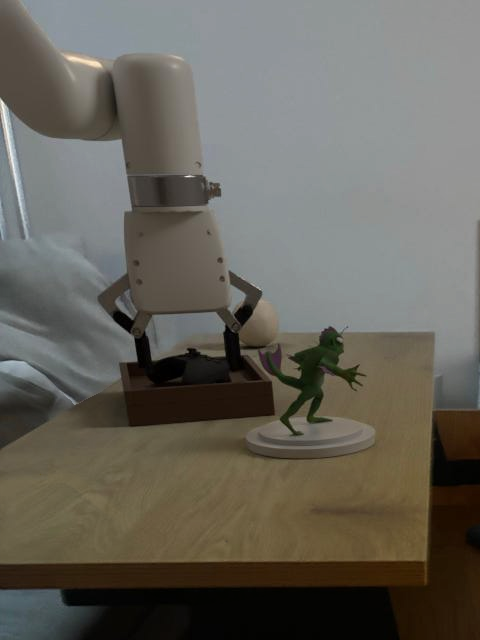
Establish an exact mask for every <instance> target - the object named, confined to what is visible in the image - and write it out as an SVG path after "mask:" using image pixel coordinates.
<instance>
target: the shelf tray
mask: <svg viewBox="0 0 480 640" xmlns="http://www.w3.org/2000/svg"><path fill="white" fill-rule="evenodd" d="M214 357H215V358H222V359H225V360H226V355H220V356H219V355H218V356H214ZM158 360H159V359H155V360H153V359H152V364H153V363H154V362H156V361H158ZM118 365H119V372H120V378H121V384H122V390H123V397H124V402H125V409H126V415H127V420H128V426H129V427H139V426H152V425H153V426H154V425H165V424H166V425H167V424H176V423H178V424H179V423H189V422H201V421H212V420H213V421H214V420H227V419H239V418H250V417H251V418H252V417H264V416H275V415H276V410H275V401H274V400H275V398H274V388H273V387H274V386H273V382H272V379H271V378H270V377H269V376H268V375H267V374H266V373H265V372H264V371H263V369H262V368H261V367H260V366H259V365H258V364H257V363H256V361H255V360H254V359H253V358H252V357H251V356H250V355H249V354H241V362H236V367H237V371H231V370H229V375H230V378H231V380H232V382H230V383H213V384H201V385H187V386H182V385H181V381H182V377H179V378H176V379H173V380H170V381H167V382H162V383H154V382H152V381H150V380H149V379H148V377H147V375H146V370H145V368H139V367H138V361H137V360H135V361H127V362H126V361H122V362H118Z"/></svg>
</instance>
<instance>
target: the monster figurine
mask: <svg viewBox="0 0 480 640" xmlns="http://www.w3.org/2000/svg"><path fill="white" fill-rule="evenodd" d="M346 329H349V326H346V327H345V328H343V330H342V331H341V332H340V333H339V332H338V330H337V329H336V328H335V327H333V326H330V325H328V328H325V327H324V328H323V330H322V331H321V334H320V335H319V336H318V342H319V344H318V343H317V345H316V346H312V345H309V348H306V349H303V350H301V351H298V352H295V353H294V355H290V354H285V355H286V356H287V359H289V360H290V361H292V362H293V363H294V364H297V365H299V366H298V367H295V368H294V370H297V371H298V372H300V376H299V378H298V377H296V376H292V375H286V374H284V373H283V372H282V360H283V359H282V358H283V357H282V356H283V355H282V353H283V352H282V347H281V345H280V343H279V342H277V348H276V350H275V351H274V352H270V351H269V350H267V351H266V352H265V353H263V352H262V351H261V350H260V347H257V353H258V357H259V361H260V363H261V366H262V368H263V369H264V371H265V372H266V373H268V374H269V375H270V376H272V377H275V378H277V379H278V381H279V382H281V383H282V384H284V385H286V386H287V387H291V388H294V389H296V390H298V391H300V393H299V394H298V395H297V398H296V400H294V401H293V402H292V403H291V404H290V405H289V406H288V408H287V410H286V411H285V412H284V413H283V414H282V415H281V416H279V420H278V419H277V420H274V421H271V422H267V423H265V424H263V425H260V426H258V427H255V428H253V429H251V430H250V431H248V432H247V433H246V435H245V442H246V448H247V449H248V451H250V452H251V453H255V454H258V455H261V456H265V457H271V458H278V459H279V458H280V459H300V460H301V459H322V458H332V457H338V456H345V455H349V454H354V453H358V452H361V451H364V450H366V449H368V448H370V447H372V446H373V445H374V444H375V443H376V430H375V428H374V427H373V426H371V425H369V424H368V423H363V422H361V421H357V420H355V419H352V418H347V417H346V418H345V417H340V416H339V417H338V416H327V415H326V416H322V415H321V416H320V415H319V416H317V415H316V416H314V415H315V414H316V413H317V411H319V408H320V407H321V404H322V401H323V398H324V397H325V396H324V395H325V394H324V391H323V389H322V386H323V385H324V382H325V374H327V375H330V376H331V377H335V376H336V377H339V378H341V379H343V380H344V381H346V383H348V385H349V388H350V389H351V390H353V391H354V392H358V390H357V388H354V387H353V383H355V385H356V384H357V385H359V386H360V387H364V385H363V384H362V383H361V382H359V381H358V380H357V379H356V377H357V376H359V377H367V375H366V374H364V373H361V372H358V369H359V367H360V366H361V364H356V365H355V366H352V367H348V368H346V369H345V368H344V369H343V368H341V367H340V366H338V364H339V362H340V355H342V354H344V353H345V349H344V348H345V345H344V338H343V336H342V334H343V332H344V331H345V330H346ZM313 342H315V343H316V341H314V340H313ZM310 400H311V402H310V407H309V409H308V412H307V415H306V416H299V417H293V416H294V415H296V414H297V413H298V412H299V410H300V409H302V406H304V405H305V403H306V402H308V401H310Z"/></svg>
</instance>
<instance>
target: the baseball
mask: <svg viewBox="0 0 480 640" xmlns="http://www.w3.org/2000/svg"><path fill="white" fill-rule="evenodd" d="M244 300H245V299H243V300H241V301H239V302H238V303H237V304H236V305H235V306H234V307H233V309H232V310H231V311H230V312H231V313H232V314H233V315H234V314H235V313H236V311H237V310H238V309H239V308H240V306H241V305H242V304H243V302H244ZM279 331H280V319H279V314H278V313H277V311H276V309H275V308H274V305H272V304H271V303H270V302H269V301H267V300H265V299H262V298H260V300H259V302H258V304H257V306H256V308H255V309H254V311H253V314H252V316H251V317H250V318H249V319H248V321H247V322H246V323H245V324H244V325H243V327H242V328H241V330H240V332H238V333H239V342H240V343H242V344H244V345H246V346H248V347H253V348H260V347H261V348H262V347H264V346H265V347H266V346H268V345H269V344H271V343H272V342H274V341H275V340H276V338H277V336H278V333H279Z"/></svg>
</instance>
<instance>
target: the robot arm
mask: <svg viewBox="0 0 480 640" xmlns="http://www.w3.org/2000/svg"><path fill="white" fill-rule="evenodd" d="M0 101H2V103H4V105H5V106H6V107H7V108H8V109H9V110H10V112H11V113H12V114H13V115H14V116H15V117H16V118H17V119H18V120H19V121H21V123H23V124H24V125H26V127H27V128H29V129H30V130H32V131H34V132H36V133H37V134H39V135H42V136H43V137H47V138H51V139H60V140H81V141H87V142H112V141H118V140H121V145H122V152H123V159H124V166H125V174H126V179H127V186H128V193H129V199H130V201H129V202H130V205H131V206H130V207H131V208H130V209H131V210H125V211H124V213H123V244H124V254H125V255H124V256H125V265H126V266H125V267H126V273H125V274H123V275H122V276H120V277H119V278H118V279H117V280H115V281H114V282H113V283H112V284H110V285H109V286H108V287H106V288H105V289H103V291H101V292H100V293H99V294H98V295H97V302H98V304H99V305H100V306H101V308H103V310H104V311H105V312H106V313H107V314H108V315H109V317H111V319H112V320H113V321H114V323H116V324H117V325H118V326H120V327H121V328H122V329H123V330H124V331H126V332H127V333H128V334H129V335H131V337H132V338H133V340H134V348H135V353H136V361H138V367H139V368H145V370H146V375H147V377H152V375H154V372H153V365H152V361H153V359H152V351H151V344H150V339H149V336H148V335H147V332H146V329H147V327H148V325H149V323H150V321H151V320H152V317H153V316H157V315H158V316H161V315H163V316H164V315H184V314H186V315H187V314H206V313H216V314H217V315H218V317H219V318H220V319H221V320H222V322H223V323H224V331H222V335H223V336H222V337H223V345H224V353H225V356H226V361H228V362H229V364H230V370H231V371H237V367H236V362H241V355H242V353H241V352H242V351H241V341H240V340H239V333H238V332H240V330H241V328H242V327H243V325H244V324H245V323H246V322H247V321H248V319H249V318H250V317H251V316H252V314H253V311H254V309H255V308H256V306H257V304H258V302H259V300H260V299H262V297H263V290H262V289H261V288H260V287H258V286H256V285H254V284H253V283H252V282H249V280H246V279H245V278H243V277H241V276H240V275H238V274H236V273H235V272H234V271H232V270H231V269H229V267H228V266H229V265H228V260H227V259H228V258H227V253H226V249H225V244H224V240H223V236H222V232H221V231H222V230H221V227H220V223H219V220H218V216H217V213H216V210H215V209H209V201H211V200H212V199H215V198H221V197H222V188H221V182H213V181H211V180H209V179H207V177H206V175H205V165H204V158H203V150H202V141H201V140H202V139H201V131H200V123H199V116H198V115H199V113H198V106H197V97H196V88H195V80H194V72H193V71H192V68H191V66H190V64H189V63H188V61H187V60H185V59H184V58H183V57H181V56H179V55H175V54H170V53H160V52H133V53H126V54H122V55H120V56H117V58H116V59H109V58H103V57H98V56H92V55H88V54H83V53H81V52H77V51H70V50H65V49H59V48H58V47H56V46H55V44H54V43H53V42H52V41H51V40H50V38H49V37H48V36H47V34H46V33H45V32H44V31H43V29H42V28H41V26H40V25H39V24H38V23H37V21H36V20H35V19H34V17H33V16H32V15H31V13H30V12H29V11H28V8H26V6H25V4H24V3H23V2H22V0H0ZM232 287H234V288H236V289H237V290H239V291H240V292H242V293H243V294H244V295H245V298H244V299H243V300H244V302H243V304H242V305H241V306H240V308H239V309H238V310H237V311H236V313H235V314H234V315H233V314H232V313H231V312H232V311H231V310H230V309H229V308H230V307H231V305H232ZM128 290H129V295H130V300H131V303H132V305H133V306H134V308H135V310H136V313H135V315H134V317H133V319H132V318H131V317H130V316H129V315H128V314H126V313H125V312H124V311H123V310H122V309H121V308H120V307H119V306H118V304H117V303H116V300H117V299H118V298H119V297H120V296H122V295H123V294H124V293H126V292H127V291H128Z"/></svg>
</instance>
